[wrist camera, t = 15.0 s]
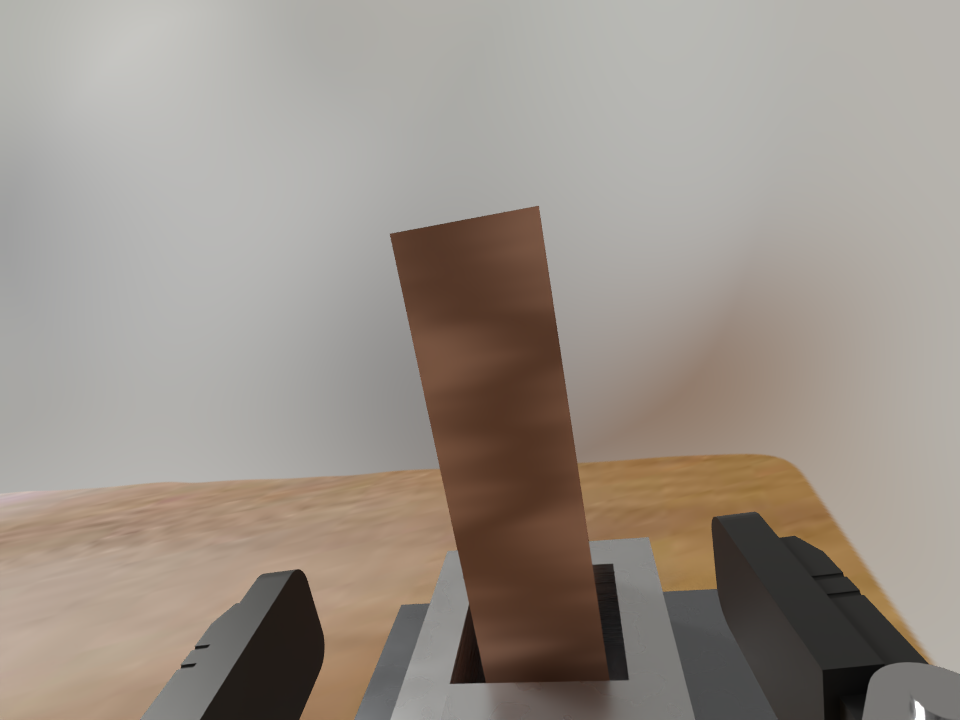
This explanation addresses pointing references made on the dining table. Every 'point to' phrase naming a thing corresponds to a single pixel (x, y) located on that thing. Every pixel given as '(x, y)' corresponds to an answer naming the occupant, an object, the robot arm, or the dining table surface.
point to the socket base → (691, 637)
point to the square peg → (505, 442)
